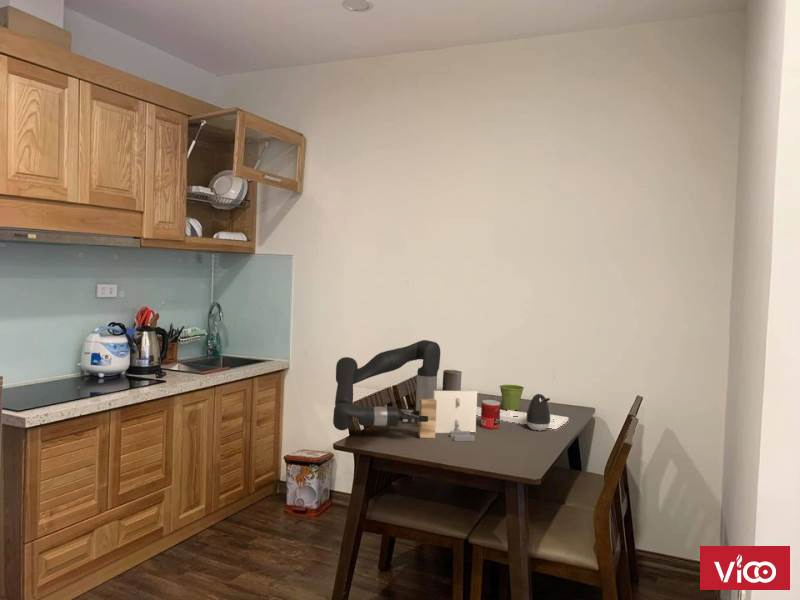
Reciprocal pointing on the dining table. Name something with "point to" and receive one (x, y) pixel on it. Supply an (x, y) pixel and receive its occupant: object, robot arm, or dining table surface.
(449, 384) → the pillar candle
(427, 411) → the tall wooden block
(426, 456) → the dining table surface
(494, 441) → the dining table surface
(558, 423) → the holder
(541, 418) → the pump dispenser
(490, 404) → the canned food
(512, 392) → the plant pot
